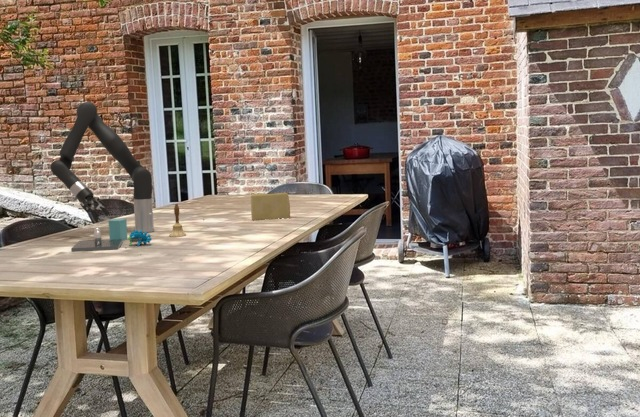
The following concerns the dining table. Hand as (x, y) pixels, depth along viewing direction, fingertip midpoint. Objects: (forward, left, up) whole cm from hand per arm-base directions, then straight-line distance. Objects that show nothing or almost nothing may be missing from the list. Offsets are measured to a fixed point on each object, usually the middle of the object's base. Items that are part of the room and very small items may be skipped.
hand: (103, 216), depth 343 cm
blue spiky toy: (-19, +21, -12) cm, 30 cm away
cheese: (-86, -50, -12) cm, 100 cm away
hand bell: (-35, -3, -12) cm, 37 cm away
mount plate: (0, +20, -12) cm, 23 cm away
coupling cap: (-7, +3, -12) cm, 14 cm away
